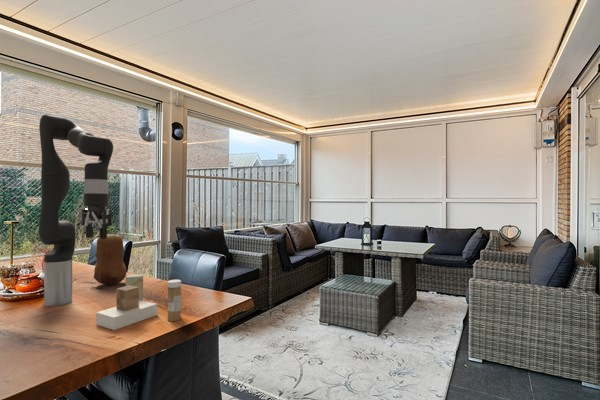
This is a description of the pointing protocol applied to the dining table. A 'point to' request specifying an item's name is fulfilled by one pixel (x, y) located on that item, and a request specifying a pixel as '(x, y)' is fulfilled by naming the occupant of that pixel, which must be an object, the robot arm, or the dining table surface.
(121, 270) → the butternut squash
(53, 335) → the dining table surface
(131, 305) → the walnut block
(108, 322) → the white block
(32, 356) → the dining table surface
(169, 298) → the sprinkles bottle
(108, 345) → the dining table surface
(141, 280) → the skincare box
